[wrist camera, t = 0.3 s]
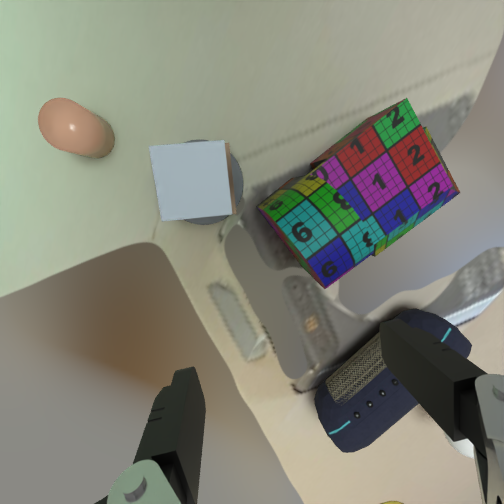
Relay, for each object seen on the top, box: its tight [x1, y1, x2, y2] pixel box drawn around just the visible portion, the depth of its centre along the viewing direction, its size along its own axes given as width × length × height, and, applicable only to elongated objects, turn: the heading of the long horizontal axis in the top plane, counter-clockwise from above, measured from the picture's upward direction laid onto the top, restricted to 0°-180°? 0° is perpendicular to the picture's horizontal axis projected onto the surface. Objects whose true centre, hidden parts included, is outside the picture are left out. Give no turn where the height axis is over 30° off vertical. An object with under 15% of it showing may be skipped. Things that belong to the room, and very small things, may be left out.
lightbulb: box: [444, 432, 474, 458], centre depth 43 cm, size 6×6×11 cm
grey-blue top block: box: [149, 140, 232, 221], centre depth 27 cm, size 7×7×5 cm
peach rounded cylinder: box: [38, 98, 115, 158], centre depth 30 cm, size 5×5×6 cm
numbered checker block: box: [256, 98, 460, 289], centre depth 32 cm, size 25×17×14 cm
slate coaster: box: [183, 140, 243, 225], centre depth 35 cm, size 11×11×1 cm
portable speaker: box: [314, 309, 472, 453], centre depth 40 cm, size 25×10×10 cm, turn 135°
